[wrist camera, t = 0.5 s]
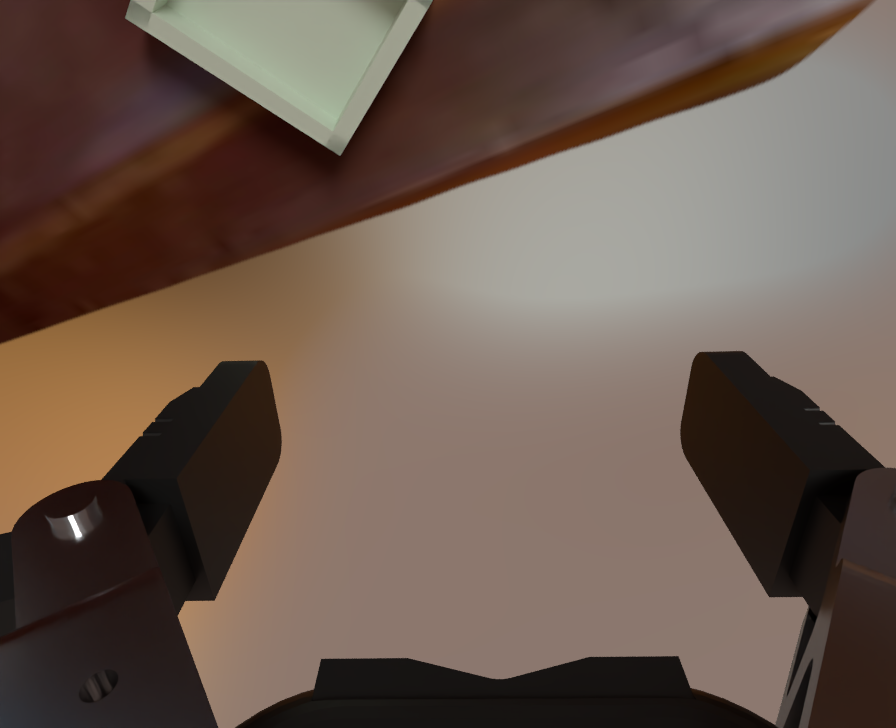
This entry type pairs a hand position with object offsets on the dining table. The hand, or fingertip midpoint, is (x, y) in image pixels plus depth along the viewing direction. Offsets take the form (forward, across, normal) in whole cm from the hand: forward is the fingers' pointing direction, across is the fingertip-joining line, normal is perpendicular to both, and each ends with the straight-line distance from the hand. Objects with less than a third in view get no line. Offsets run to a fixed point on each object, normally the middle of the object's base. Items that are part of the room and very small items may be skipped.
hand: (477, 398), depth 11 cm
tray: (+26, +9, -10) cm, 29 cm away
